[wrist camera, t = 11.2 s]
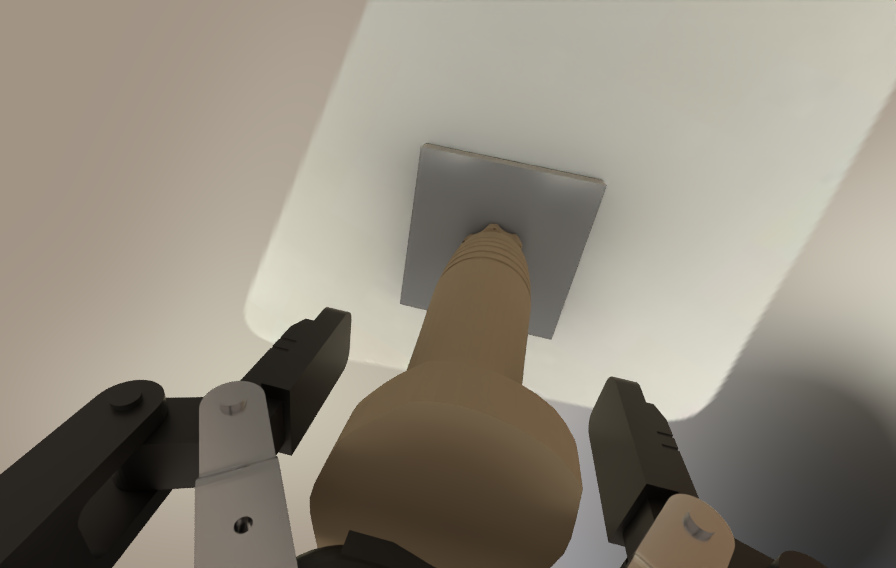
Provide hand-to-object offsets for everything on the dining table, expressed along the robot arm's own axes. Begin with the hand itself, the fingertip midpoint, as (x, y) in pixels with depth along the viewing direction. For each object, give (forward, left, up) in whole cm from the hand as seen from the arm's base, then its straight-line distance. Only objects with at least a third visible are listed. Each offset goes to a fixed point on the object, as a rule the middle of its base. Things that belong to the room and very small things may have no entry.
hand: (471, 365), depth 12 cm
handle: (0, 0, -10) cm, 10 cm away
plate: (0, 0, -11) cm, 11 cm away
